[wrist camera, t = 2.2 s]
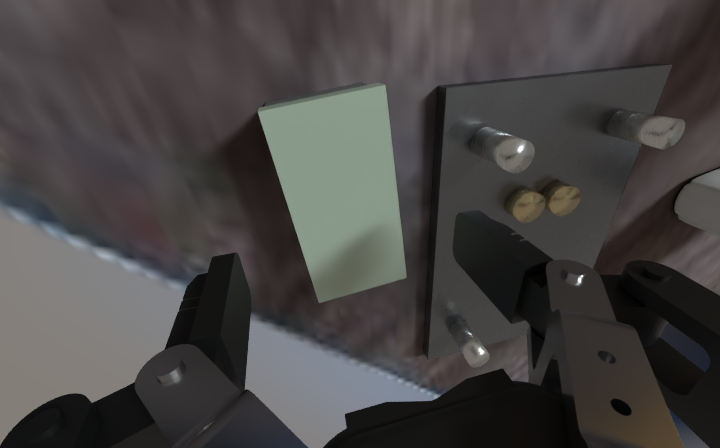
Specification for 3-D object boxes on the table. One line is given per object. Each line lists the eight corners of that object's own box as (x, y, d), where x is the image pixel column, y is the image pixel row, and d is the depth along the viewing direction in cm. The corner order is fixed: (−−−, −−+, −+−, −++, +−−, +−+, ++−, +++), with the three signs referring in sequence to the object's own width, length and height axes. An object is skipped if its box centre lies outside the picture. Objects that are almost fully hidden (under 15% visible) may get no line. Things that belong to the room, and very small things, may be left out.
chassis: (654, 63, 19) (739, 66, 15) (563, 314, 29) (600, 349, 26) (437, 86, 16) (480, 95, 13) (423, 350, 27) (444, 393, 23)
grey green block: (361, 77, 16) (385, 84, 12) (385, 240, 21) (406, 277, 17) (262, 97, 15) (257, 112, 12) (311, 260, 20) (318, 303, 17)
